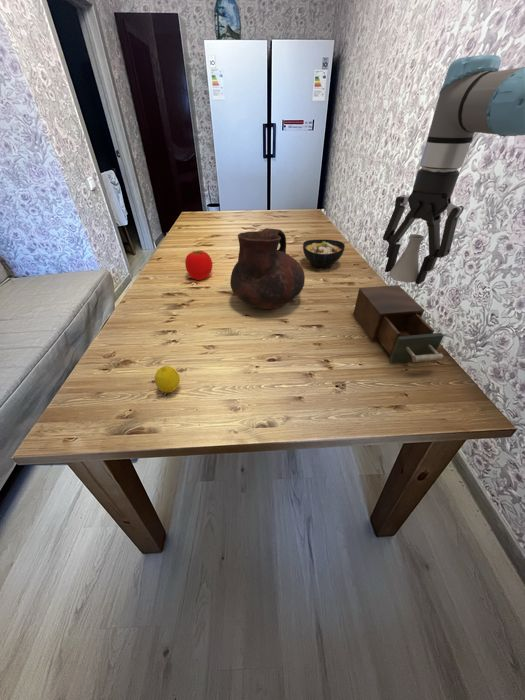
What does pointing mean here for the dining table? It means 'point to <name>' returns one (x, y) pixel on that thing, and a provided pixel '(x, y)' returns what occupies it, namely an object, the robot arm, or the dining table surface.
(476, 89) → the robot arm
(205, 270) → the tomato
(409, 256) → the flask
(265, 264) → the jug
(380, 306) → the cabinet
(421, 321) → the drawer
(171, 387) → the fruit
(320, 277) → the dining table surface
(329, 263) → the bowl
